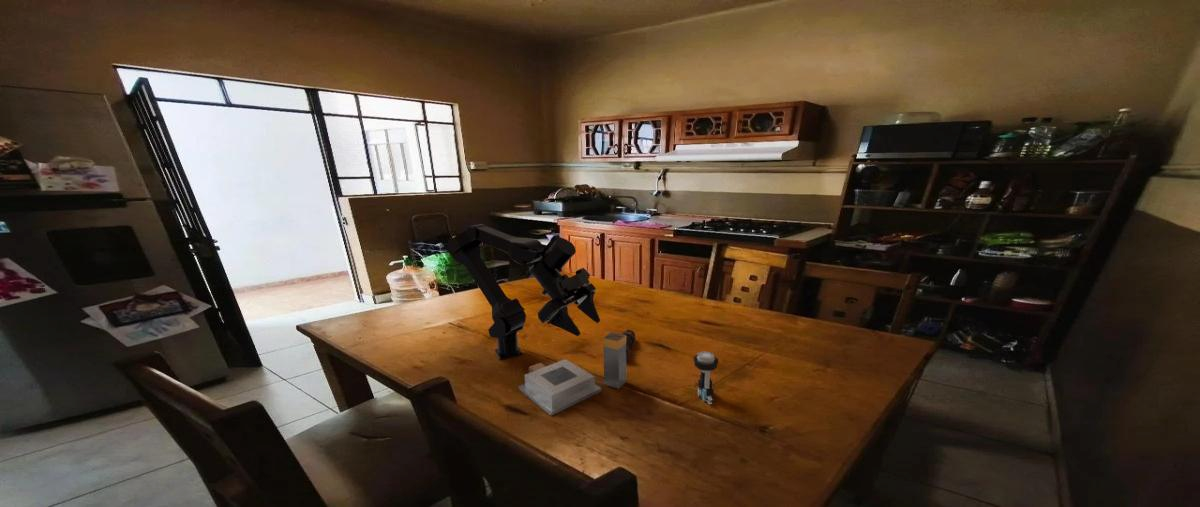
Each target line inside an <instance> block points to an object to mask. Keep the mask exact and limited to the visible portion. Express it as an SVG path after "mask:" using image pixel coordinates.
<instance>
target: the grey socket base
mask: <svg viewBox="0 0 1200 507" xmlns="http://www.w3.org/2000/svg"><path fill="white" fill-rule="evenodd" d="M518 390H520V391H521V393H523V394H524V395H525V396H526V397H528V398H529V400H531V401H533V402H534V403H535V405H537V406H538V407H540V408H541V409H542V410H543V411H545V413H547V414H548V415H550V417H552V416H554V415H556V414H558V413H560V412H562V411H564V410H566V409H568V408H571V407H572V406H574V405H577V404H579V403H581V402H582V401H585V400H587V399H589V398H591V397H593V396H595V395H597V394H599V393H600V392H602V387H600V386H598V385H597V384H596V383H595V376H594V375H592V374H591V373H589V372H588V371H586V370H584V369H583V368H582V367H579V366H578V365H576V364H575V363H573V362H571V361H570V360H567V359H566V358H565V359H562V360H559V361H557V362H554V363H551V364H548V365H547V366H546V365H545V364H544V363H542V362H539V363H535V364H533V365H530V366H528V373H526V374H524V384H521V385H519V386H518Z"/></svg>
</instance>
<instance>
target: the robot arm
mask: <svg viewBox="0 0 1200 507" xmlns="http://www.w3.org/2000/svg"><path fill="white" fill-rule="evenodd" d="M482 244H486V245H488V246H490V247H493V248H495V249H498V250H499V251H502V252H504V253H506V254H507V255H508V257H509V258H510V259H511V260H513V262H516V264H518V265H521V266H525V265H528V264H531V263H534V264H533V265H531V266H528V267H526V273H525V279H530V278H533V277H534V278H535V280H536V281H537V283H539V285H540V287H542V292H541V293H542V295H543V296H546V295H548V296H549V298H550V300H549V301H547V302H546V303H545V304H544V305H543V306H542V307H541V308H540V309H539V311H538V312H537V318H538V320H539V321H540V322H541V323H542V324H547V325H552V326H555V327H558V328H559V329H562V330H564V331H566V332H568V333H570V334H571V335H574V336H576V337H579V336H581V331H580V329H579V328H578V326H577V325H576V323H575V322H574V321H573V319H572V318H571V317H570V315H569V311H568V306H570V305H572V304H575V305H577V306H576V308H577V309H579V311H580V312H582V313H583V314H584V315H585V316H587V317H588V318H589V319H591V320H592V321H593V322H595V323H596V324H598V323H600V321H601V319H600V316H599V313H598V311H597V308H596V306H595V302H594V296H595V294H596V290H597V288H596V287H595V285H594V284H593V283H592V282H590V281H589V280H590V276H591V274H590V273H589V272H588V270H586V269H585V267H582V268H579V269H577V270H575V275H573V276H568V275H567V274H566V273H565V274H562V273H561V272H560V271H559V270H560V269H563V268H564V267H565V265H567V263H568V262H569V261H570V260H571V259H572V257H573V256H574V255H575V254H576V252H577V251H576V247H575V245H574V244H573V243H572V242H571V241H569V240H568V239H566V238H564V237H561V236H560V235H559V234H555V235H553V236H552V237H550V240H549V242H547V244H543V243H542V241H540V240H538V239H537V238H535V239H534V238H528V237H527V238H526V237H516V236H513V235H510V234H507V233H505V232H502V231H500V230H497V229H494V228H492V227H490V226H488V225H487V224H485V223H484V224H483V223H480V224H474V225H471V226H469V227H468V228H466V230H464V231H462V232H461V233H458V234H457V235H454V236H453V237H449V239H448V241H447V244H446V250H447V252H448V254H449V255H450V256H451V257H452V258H453V260H454V261H455V262H456V263H458V264H460V265H462V266H464V267H465V268H466V270H467V271H468V273H469V274H470V276H471V278H472V279H473V280H474V282H475V284H477V287H478V288H479V290H480V291H481V292H482V295H483V296H484V297H485V299H486V301H487V302H488V303H489V305H490V307H491V318H492V320H493V323H492V325H491V326H490V327H489V328H488V333H489V337H490V338H493V339H496V341H497V348H496V349H494V353H495V354H496V355H497V357H498V359H499V360H506V359H509V358H513V357H518V356H521V355H523V351H522V350H521V349H520V347H519V343H518V339H519V338H518V332H520V331H522V330H524V326H525V324H526V322H527V320H526V319H527V315H526V311H525V308H524V306H522V304H521V302H520V300H519V299H517V298H514V299H513V298H512V299H511V298H509V297H508V296H507V295H506V294H505V292H504V290H503V289H502V287H501V285H500V284H499V283H498V281H497V280H496V278H495V277H494V275H493V273H492V272H491V271H490V269H489V268H488V267H487V265H486V263H485V262H484V260H483V259H482V248H481V246H482Z"/></svg>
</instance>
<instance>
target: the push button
mask: <svg viewBox="0 0 1200 507" xmlns="http://www.w3.org/2000/svg"><path fill="white" fill-rule="evenodd" d="M692 359H693V362H694V367H696V368H697V369H698V370H699V371H700V374H699V379H697V380H698V381H697V396H698V397H701V399H702V401H703V402H707V404H708V405H713V403H712V401H713V398H714V389H713V381H712V379H711V377H710V376H711V372H712V371H714V370H716V369H717V368H718V364H719V359H718V358H717V357H716V356H715V355H714V353H713V352H710V351H699V352H698V353H697V354H695V355H694V356H693V358H692Z"/></svg>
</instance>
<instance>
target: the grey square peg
mask: <svg viewBox="0 0 1200 507" xmlns="http://www.w3.org/2000/svg"><path fill="white" fill-rule="evenodd" d="M602 346H603V377H604V379H603V380H604V381H603V382H604V386H608V387H611V388H614V389H620V388H621V387H622V386H623V385H625V384H626V382H627V362H626V335H623V334H622V333H618V332H610V333H608V334H607V335H606V336H604V337H603V338H602Z"/></svg>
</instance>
